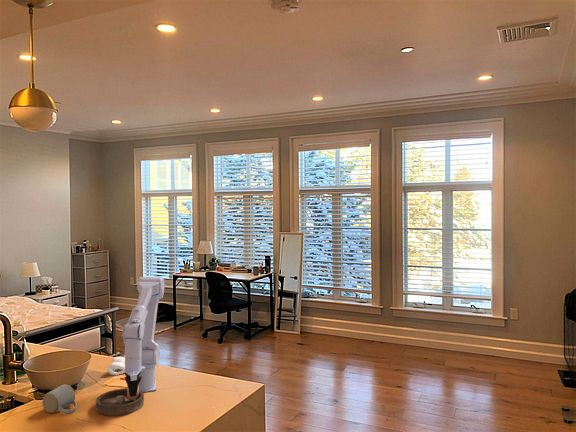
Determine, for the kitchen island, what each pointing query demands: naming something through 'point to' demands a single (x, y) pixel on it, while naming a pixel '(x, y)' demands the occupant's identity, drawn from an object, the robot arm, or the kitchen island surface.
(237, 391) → the kitchen island surface
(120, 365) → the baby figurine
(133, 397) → the bead
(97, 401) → the groove tray
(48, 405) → the ceramic mug
